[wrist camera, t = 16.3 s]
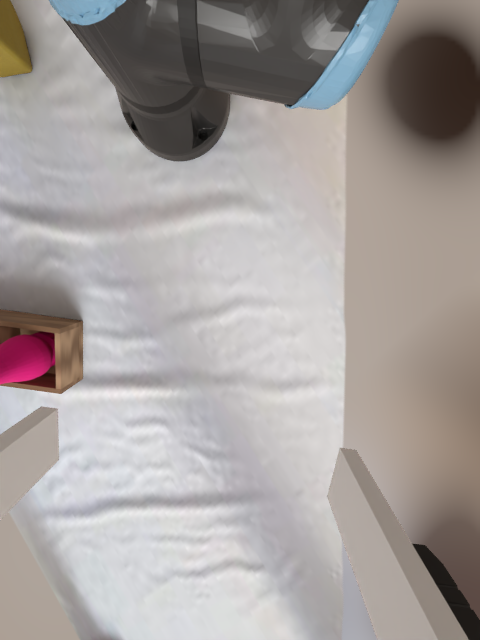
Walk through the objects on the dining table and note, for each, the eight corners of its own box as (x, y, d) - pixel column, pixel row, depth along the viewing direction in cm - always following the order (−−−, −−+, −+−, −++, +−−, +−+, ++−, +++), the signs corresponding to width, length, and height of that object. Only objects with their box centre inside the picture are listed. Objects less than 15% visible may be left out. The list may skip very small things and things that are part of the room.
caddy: (-39, 304, 43) (-79, 309, 38) (82, 320, 43) (59, 328, 38) (-33, 362, 46) (-70, 375, 40) (82, 378, 46) (61, 393, 40)
